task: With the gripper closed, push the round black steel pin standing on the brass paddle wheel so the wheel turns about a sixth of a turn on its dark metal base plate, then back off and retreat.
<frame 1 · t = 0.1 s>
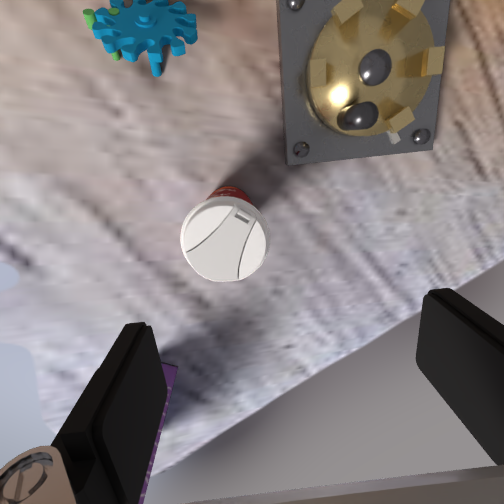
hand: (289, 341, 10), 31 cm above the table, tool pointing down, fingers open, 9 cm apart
coffee cup: (228, 208, 40), on the table
gear: (152, 38, 33), on the table
cereal box: (149, 399, 51), on the table
brass paddle wheel: (379, 64, 29), point 6 cm above the table, hinge at 0.0°
base plate: (356, 77, 35), on the table
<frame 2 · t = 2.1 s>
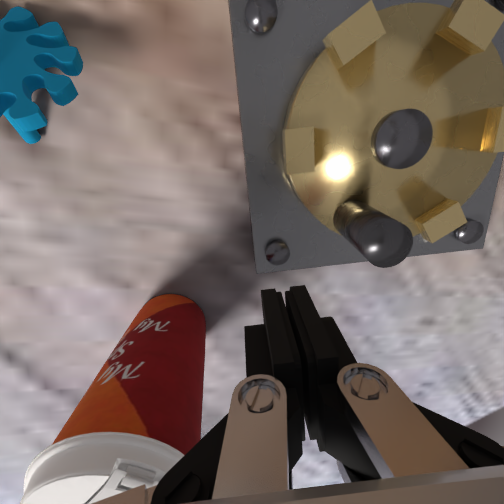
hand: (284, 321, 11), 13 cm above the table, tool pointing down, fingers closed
coffee cup: (172, 321, 27), on the table
gear: (20, 80, 19), on the table
brass paddle wheel: (412, 137, 16), point 6 cm above the table, hinge at 0.0°
base plate: (365, 138, 22), on the table
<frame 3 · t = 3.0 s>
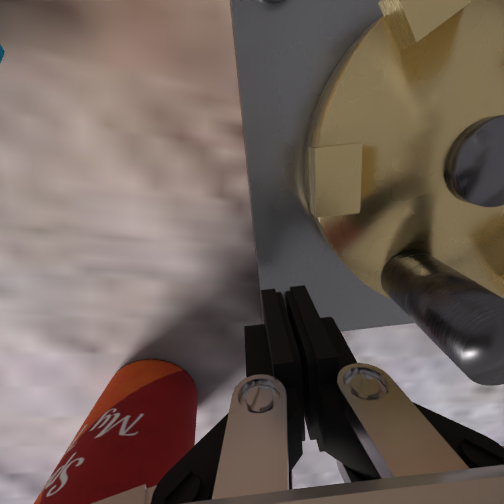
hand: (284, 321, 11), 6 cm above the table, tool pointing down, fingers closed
coffee cup: (154, 391, 20), on the table
base plate: (417, 155, 15), on the table
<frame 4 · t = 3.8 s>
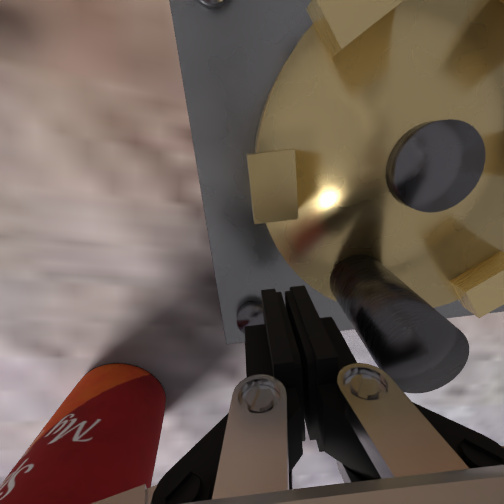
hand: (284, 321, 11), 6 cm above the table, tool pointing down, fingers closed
coffee cup: (123, 395, 20), on the table
brass paddle wheel: (454, 165, 10), point 6 cm above the table, hinge at 0.0°, touching gripper
base plate: (375, 159, 15), on the table
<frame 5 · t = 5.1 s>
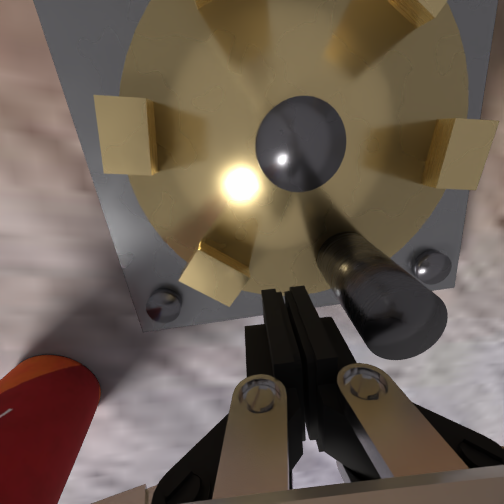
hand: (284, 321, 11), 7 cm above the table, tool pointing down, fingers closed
coffee cup: (58, 386, 21), on the table
brass paddle wheel: (303, 143, 10), point 6 cm above the table, hinge at 49.7°, touching gripper
base plate: (279, 142, 15), on the table
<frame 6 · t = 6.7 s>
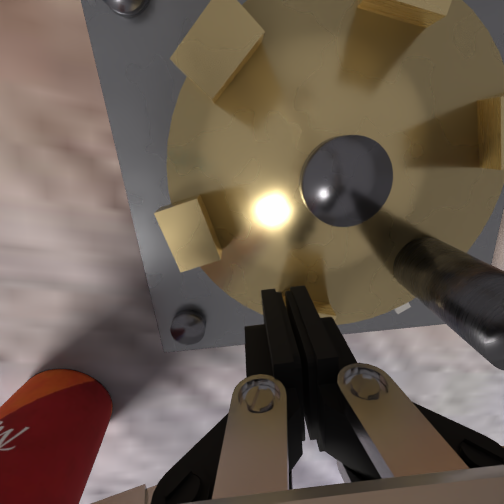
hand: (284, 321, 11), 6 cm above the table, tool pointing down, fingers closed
coffee cup: (69, 401, 20), on the table
brass paddle wheel: (351, 182, 10), point 6 cm above the table, hinge at 73.0°
base plate: (312, 169, 15), on the table
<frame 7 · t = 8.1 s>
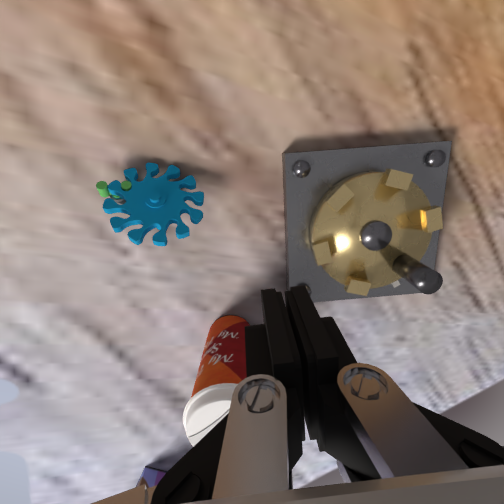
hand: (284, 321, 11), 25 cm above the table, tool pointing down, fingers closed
coffee cup: (230, 333, 40), on the table
gear: (160, 196, 34), on the table
cereal box: (143, 502, 50), on the table
brass paddle wheel: (378, 237, 31), point 6 cm above the table, hinge at 73.0°
base plate: (357, 225, 36), on the table
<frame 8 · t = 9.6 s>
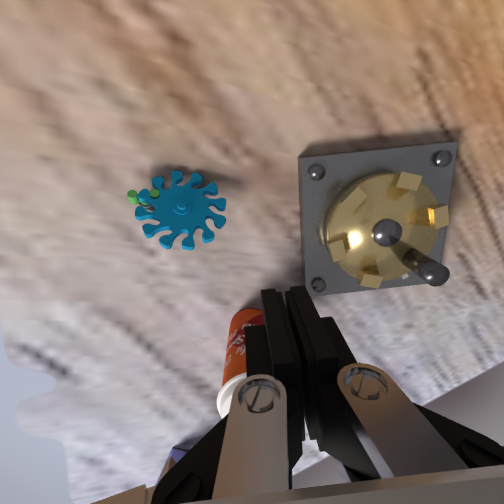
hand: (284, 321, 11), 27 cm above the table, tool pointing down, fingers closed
coffee cup: (250, 325, 44), on the table
gear: (183, 201, 37), on the table
cereal box: (171, 479, 55), on the table
brass paddle wheel: (390, 234, 33), point 6 cm above the table, hinge at 73.0°
base plate: (368, 221, 38), on the table
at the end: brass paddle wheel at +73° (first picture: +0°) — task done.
